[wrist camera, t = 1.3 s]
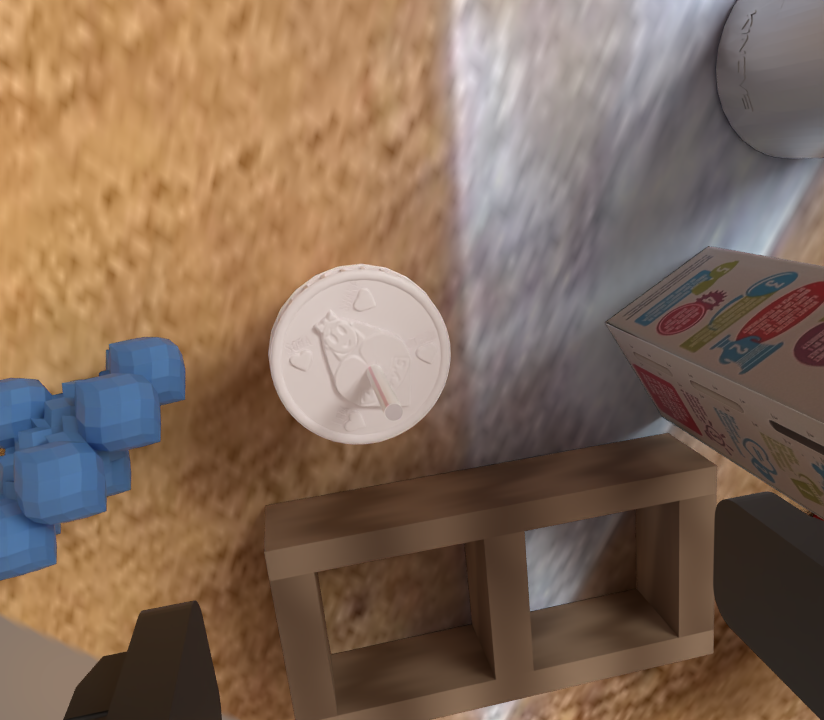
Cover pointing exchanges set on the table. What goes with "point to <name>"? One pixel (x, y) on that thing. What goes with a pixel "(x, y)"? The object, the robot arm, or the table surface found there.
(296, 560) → the slot rack
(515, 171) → the table surface
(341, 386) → the smoothie
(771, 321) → the juice carton
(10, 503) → the grapes
